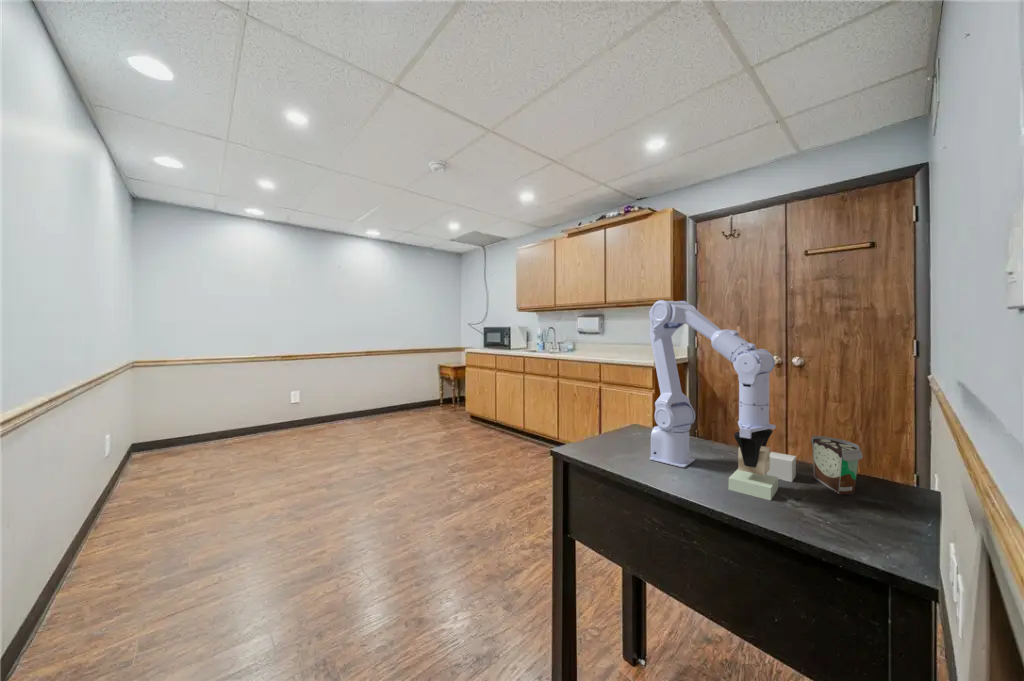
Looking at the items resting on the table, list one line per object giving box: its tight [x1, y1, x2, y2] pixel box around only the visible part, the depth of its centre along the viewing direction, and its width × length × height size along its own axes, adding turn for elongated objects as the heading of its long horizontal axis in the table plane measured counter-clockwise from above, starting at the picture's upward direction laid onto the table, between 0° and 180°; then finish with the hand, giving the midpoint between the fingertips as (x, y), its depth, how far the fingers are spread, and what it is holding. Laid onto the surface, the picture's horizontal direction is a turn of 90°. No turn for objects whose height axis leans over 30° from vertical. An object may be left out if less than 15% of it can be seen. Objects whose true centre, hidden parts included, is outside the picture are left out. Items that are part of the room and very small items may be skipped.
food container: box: [810, 435, 863, 495], centre depth 86 cm, size 12×6×10 cm, turn 168°
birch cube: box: [737, 446, 771, 476], centre depth 85 cm, size 5×5×5 cm
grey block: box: [766, 451, 797, 483], centre depth 93 cm, size 5×5×5 cm
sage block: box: [728, 468, 779, 501], centre depth 86 cm, size 8×8×3 cm
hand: (753, 463), depth 85 cm, fingers closed on birch cube, 5 cm apart
